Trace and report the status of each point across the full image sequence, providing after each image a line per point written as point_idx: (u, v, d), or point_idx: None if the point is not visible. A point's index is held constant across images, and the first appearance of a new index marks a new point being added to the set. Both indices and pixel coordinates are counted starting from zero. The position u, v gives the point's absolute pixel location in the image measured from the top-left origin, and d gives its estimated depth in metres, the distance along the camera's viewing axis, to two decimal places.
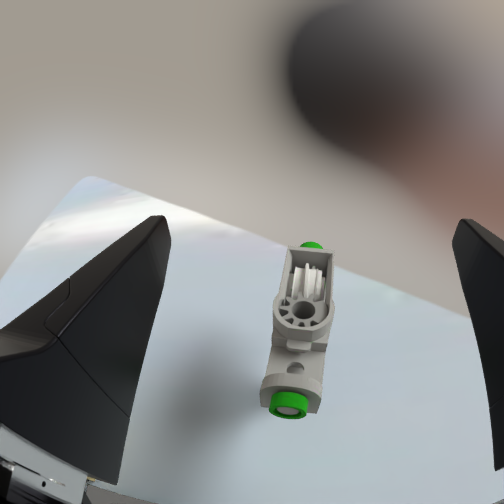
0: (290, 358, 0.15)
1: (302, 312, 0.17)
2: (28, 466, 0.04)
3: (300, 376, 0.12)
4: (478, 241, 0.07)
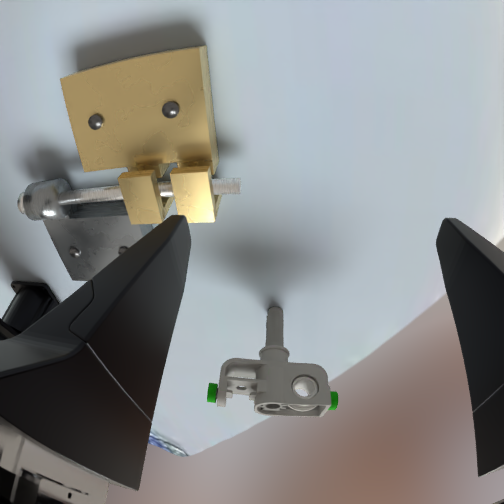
0: (248, 387, 0.24)
1: None
2: (53, 477, 0.04)
3: (223, 406, 0.23)
4: (461, 241, 0.07)
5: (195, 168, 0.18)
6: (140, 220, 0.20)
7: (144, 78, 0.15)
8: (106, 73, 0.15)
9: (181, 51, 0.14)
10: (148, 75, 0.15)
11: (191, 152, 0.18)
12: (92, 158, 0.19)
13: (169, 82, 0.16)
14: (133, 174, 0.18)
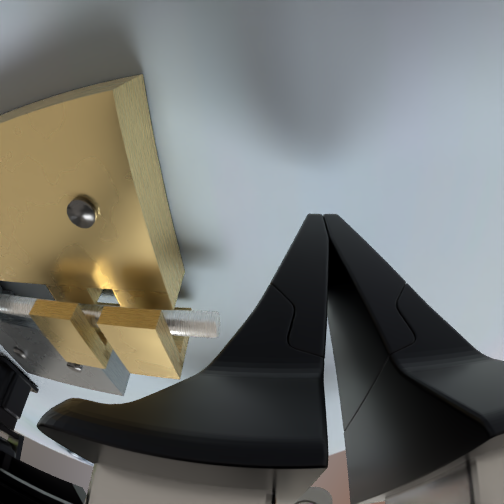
0: None
1: None
2: None
3: None
4: None
5: (137, 314, 0.10)
6: (76, 360, 0.12)
7: (30, 155, 0.08)
8: None
9: (80, 100, 0.07)
10: (35, 149, 0.07)
11: (131, 278, 0.11)
12: (0, 266, 0.11)
13: (70, 163, 0.08)
14: (49, 308, 0.10)
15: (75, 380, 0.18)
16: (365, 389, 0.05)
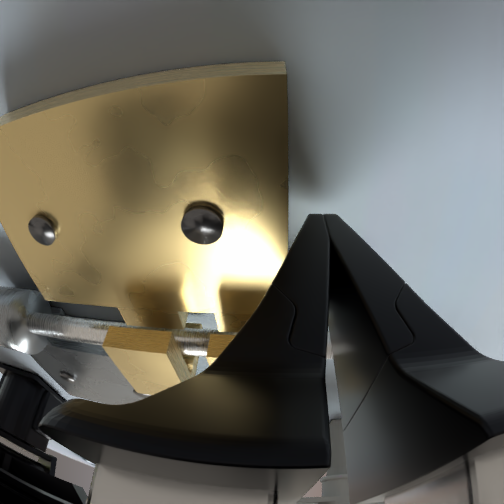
0: None
1: None
2: None
3: None
4: None
5: None
6: (152, 392, 0.11)
7: (132, 145, 0.06)
8: (44, 130, 0.06)
9: (234, 79, 0.05)
10: (142, 138, 0.06)
11: (245, 301, 0.09)
12: (52, 285, 0.10)
13: (198, 161, 0.07)
14: (131, 339, 0.09)
15: None
16: (364, 389, 0.05)
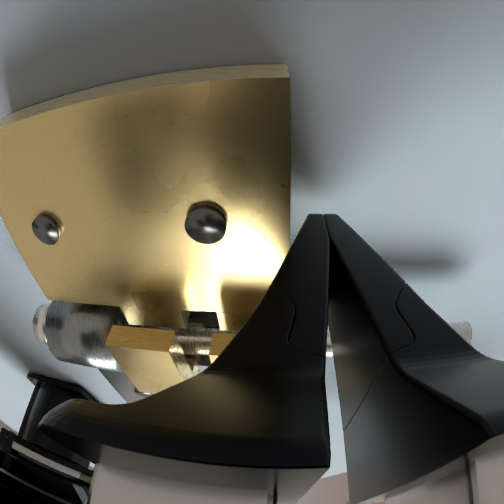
0: None
1: None
2: None
3: None
4: None
5: None
6: (154, 391, 0.11)
7: (136, 146, 0.07)
8: (49, 130, 0.06)
9: (238, 82, 0.06)
10: (147, 139, 0.06)
11: (247, 300, 0.10)
12: (55, 284, 0.10)
13: (202, 161, 0.07)
14: (134, 338, 0.09)
15: None
16: (364, 389, 0.05)
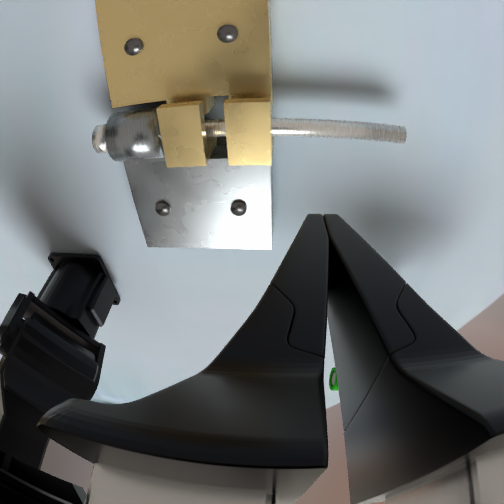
0: None
1: None
2: None
3: None
4: None
5: (253, 99, 0.14)
6: (179, 162, 0.17)
7: None
8: None
9: None
10: None
11: (247, 84, 0.15)
12: (124, 90, 0.15)
13: (228, 3, 0.12)
14: (176, 104, 0.15)
15: (222, 236, 0.22)
16: (365, 389, 0.05)
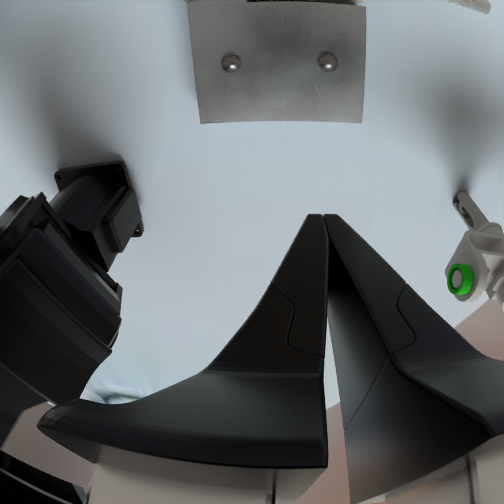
0: (492, 269, 0.14)
1: None
2: None
3: (477, 297, 0.14)
4: None
5: None
6: None
7: None
8: None
9: None
10: None
11: None
12: None
13: None
14: None
15: (303, 102, 0.16)
16: (365, 389, 0.05)
